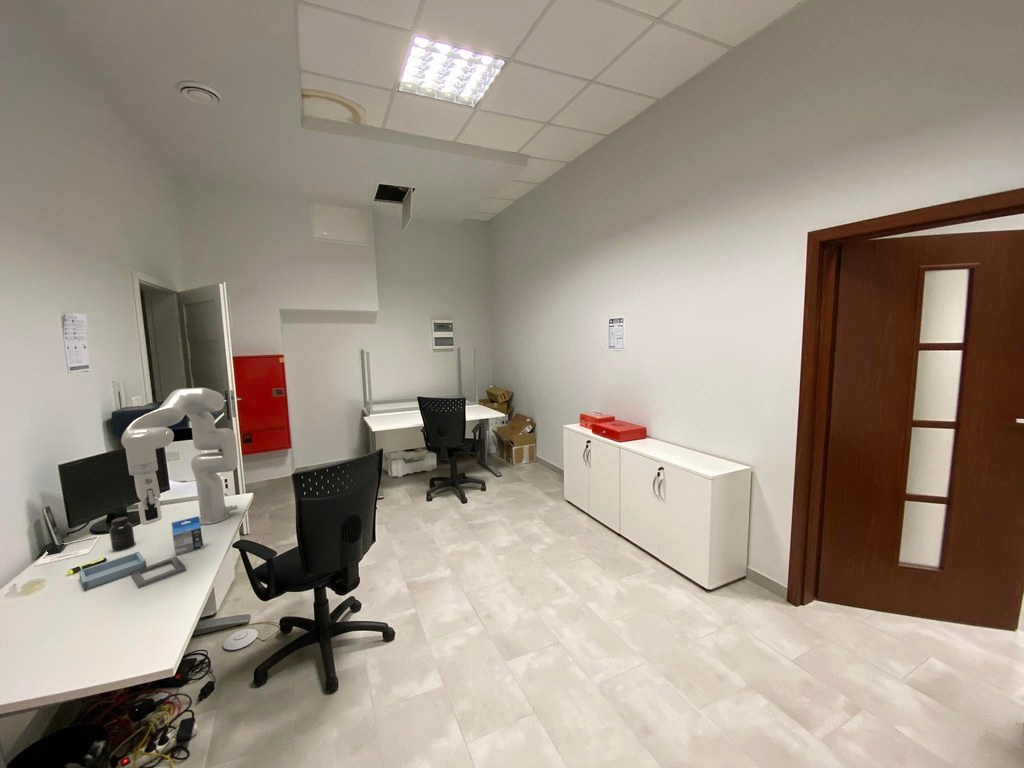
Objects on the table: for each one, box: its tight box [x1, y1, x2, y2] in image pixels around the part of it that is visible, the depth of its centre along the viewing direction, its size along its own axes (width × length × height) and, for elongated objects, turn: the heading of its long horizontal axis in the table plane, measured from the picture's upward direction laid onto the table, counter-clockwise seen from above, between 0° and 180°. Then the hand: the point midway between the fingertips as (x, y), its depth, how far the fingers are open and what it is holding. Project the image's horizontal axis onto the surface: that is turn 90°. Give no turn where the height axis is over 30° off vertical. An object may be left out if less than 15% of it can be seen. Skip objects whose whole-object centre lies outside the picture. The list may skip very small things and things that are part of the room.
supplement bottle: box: [108, 516, 136, 552], centre depth 166 cm, size 7×7×12 cm
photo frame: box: [33, 535, 101, 568], centre depth 165 cm, size 15×1×18 cm
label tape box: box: [171, 516, 204, 556], centre depth 162 cm, size 9×4×12 cm, turn 130°
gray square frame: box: [130, 555, 187, 589], centre depth 147 cm, size 13×13×1 cm
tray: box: [78, 551, 148, 592], centre depth 147 cm, size 16×12×3 cm
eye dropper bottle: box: [137, 497, 163, 526], centre depth 144 cm, size 4×6×12 cm
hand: (150, 517), depth 144 cm, fingers closed on eye dropper bottle, 3 cm apart
